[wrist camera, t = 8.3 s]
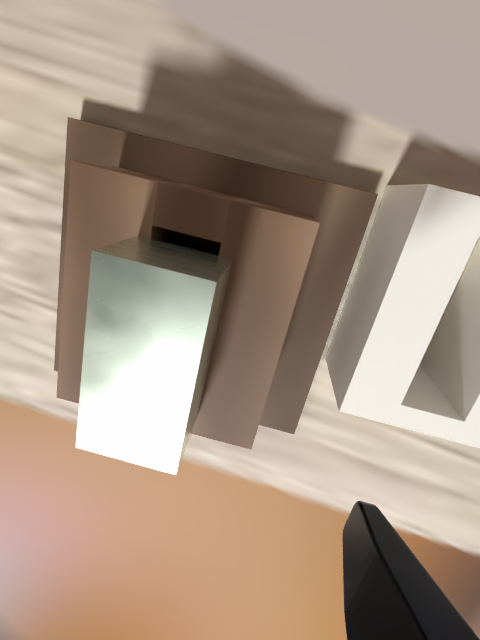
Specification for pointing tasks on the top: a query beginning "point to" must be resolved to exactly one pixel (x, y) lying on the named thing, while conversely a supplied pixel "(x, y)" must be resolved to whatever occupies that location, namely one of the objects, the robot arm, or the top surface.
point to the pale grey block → (148, 348)
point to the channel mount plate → (231, 241)
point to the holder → (415, 317)
